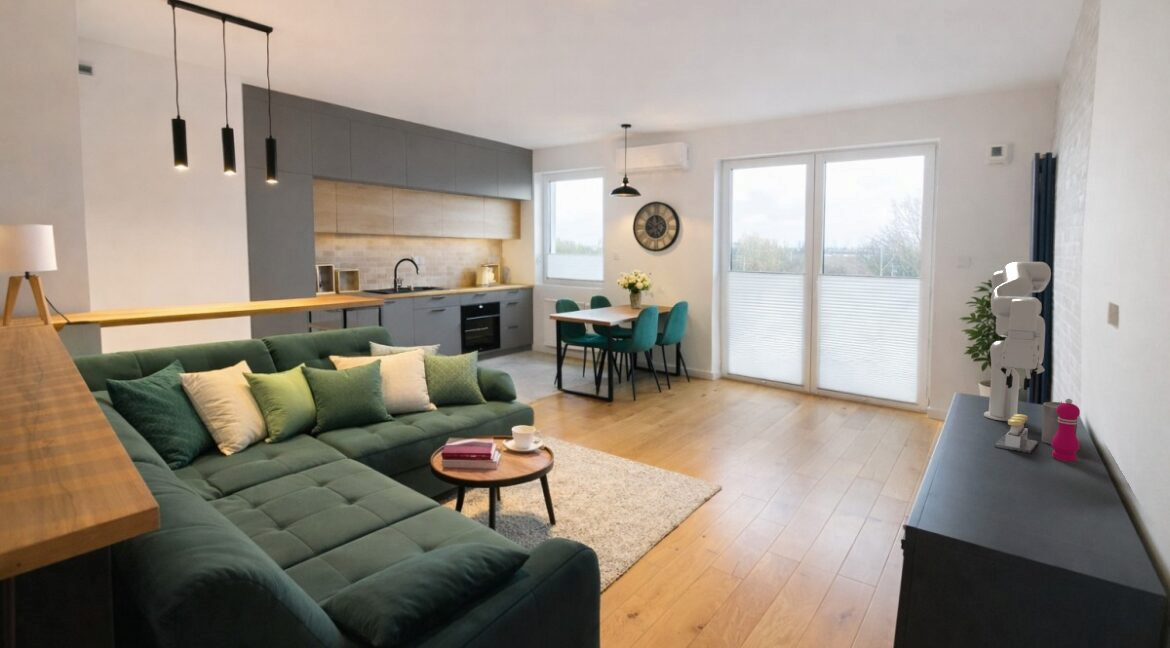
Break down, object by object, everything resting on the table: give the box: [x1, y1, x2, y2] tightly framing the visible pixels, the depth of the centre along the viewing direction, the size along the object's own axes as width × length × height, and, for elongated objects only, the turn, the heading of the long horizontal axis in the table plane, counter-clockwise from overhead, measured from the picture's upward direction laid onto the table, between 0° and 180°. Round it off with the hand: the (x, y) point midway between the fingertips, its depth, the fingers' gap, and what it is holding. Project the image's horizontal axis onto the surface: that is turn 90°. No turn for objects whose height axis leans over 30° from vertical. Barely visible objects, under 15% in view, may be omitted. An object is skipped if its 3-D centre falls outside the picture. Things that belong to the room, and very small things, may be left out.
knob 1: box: [1007, 419, 1022, 436], centre depth 209 cm, size 4×4×6 cm
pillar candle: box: [1041, 401, 1078, 445], centre depth 215 cm, size 10×10×15 cm
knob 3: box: [1014, 413, 1028, 430], centre depth 216 cm, size 4×4×6 cm
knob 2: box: [1011, 417, 1026, 433], centre depth 213 cm, size 4×4×6 cm
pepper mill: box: [1050, 398, 1081, 462], centre depth 199 cm, size 7×7×20 cm
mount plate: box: [994, 427, 1038, 454], centre depth 213 cm, size 14×10×5 cm
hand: (1017, 388), depth 208 cm, fingers open, 3 cm apart
